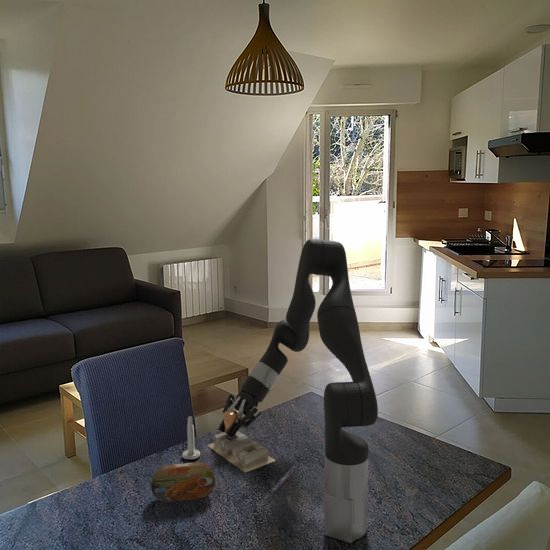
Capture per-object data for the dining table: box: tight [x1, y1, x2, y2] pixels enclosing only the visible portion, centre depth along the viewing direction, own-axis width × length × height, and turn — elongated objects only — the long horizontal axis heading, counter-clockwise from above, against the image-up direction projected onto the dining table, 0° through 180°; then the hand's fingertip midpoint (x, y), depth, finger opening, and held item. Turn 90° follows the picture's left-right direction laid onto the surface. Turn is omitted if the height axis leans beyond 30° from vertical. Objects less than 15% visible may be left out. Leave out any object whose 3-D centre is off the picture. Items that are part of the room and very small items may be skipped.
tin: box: [150, 461, 216, 503], centre depth 134 cm, size 15×3×8 cm, turn 99°
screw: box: [181, 415, 201, 461], centre depth 151 cm, size 13×5×5 cm
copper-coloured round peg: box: [223, 409, 237, 440], centre depth 157 cm, size 4×4×10 cm
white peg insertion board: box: [206, 430, 277, 473], centre depth 154 cm, size 19×10×4 cm, turn 38°
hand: (225, 433), depth 156 cm, fingers closed on copper-coloured round peg, 3 cm apart
